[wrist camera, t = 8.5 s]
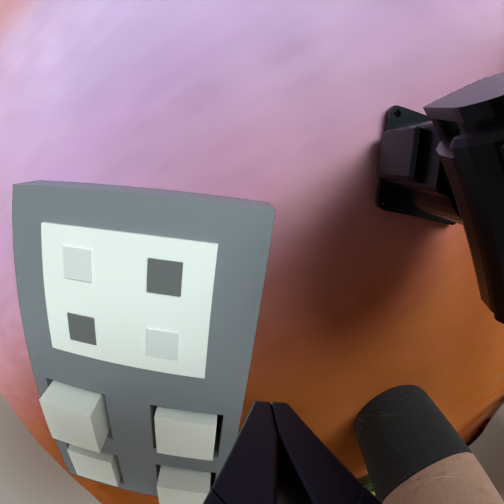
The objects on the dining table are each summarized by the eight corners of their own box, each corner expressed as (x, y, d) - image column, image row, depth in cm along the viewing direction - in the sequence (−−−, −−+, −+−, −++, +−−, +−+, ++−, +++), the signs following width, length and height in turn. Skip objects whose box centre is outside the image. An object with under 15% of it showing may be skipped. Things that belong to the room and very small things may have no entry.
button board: (269, 202, 18) (276, 210, 15) (224, 481, 25) (224, 507, 22) (39, 180, 17) (9, 184, 14) (78, 452, 24) (68, 474, 20)
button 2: (120, 436, 22) (110, 463, 19) (125, 462, 23) (117, 486, 20) (79, 425, 22) (67, 449, 19) (87, 451, 23) (77, 474, 20)
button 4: (211, 463, 22) (209, 493, 18) (209, 486, 23) (207, 514, 19) (162, 456, 21) (156, 486, 18) (164, 480, 22) (159, 507, 19)
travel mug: (439, 375, 22) (561, 543, 3) (413, 435, 24) (493, 589, 5) (361, 387, 22) (464, 615, 3) (342, 449, 24) (400, 635, 5)
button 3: (218, 394, 21) (216, 425, 18) (214, 430, 22) (212, 460, 19) (163, 386, 21) (154, 416, 18) (164, 423, 22) (157, 452, 19)
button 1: (105, 387, 19) (90, 416, 16) (111, 424, 20) (99, 453, 17) (57, 374, 19) (39, 399, 16) (67, 411, 20) (52, 437, 17)
